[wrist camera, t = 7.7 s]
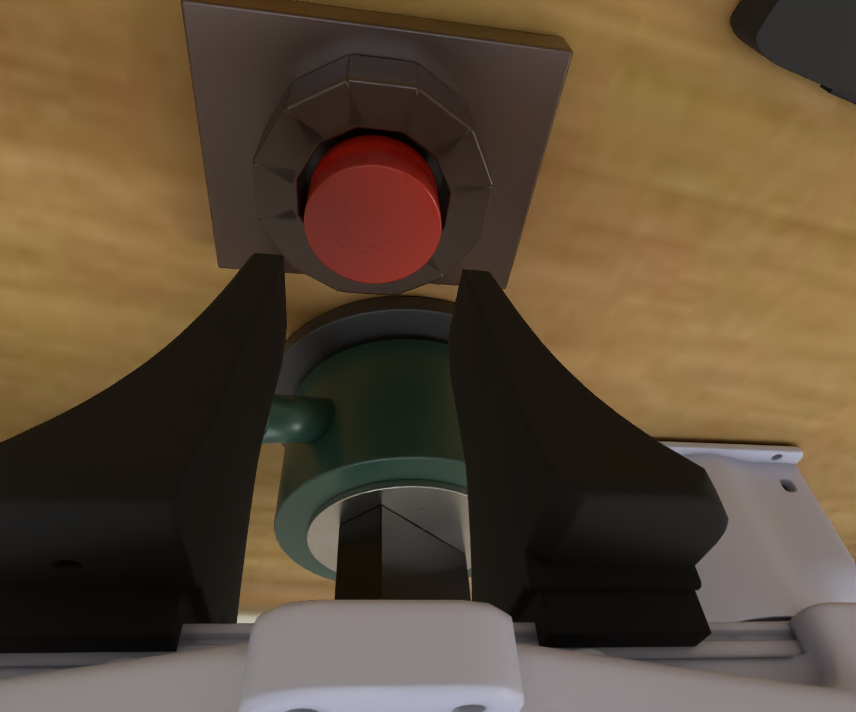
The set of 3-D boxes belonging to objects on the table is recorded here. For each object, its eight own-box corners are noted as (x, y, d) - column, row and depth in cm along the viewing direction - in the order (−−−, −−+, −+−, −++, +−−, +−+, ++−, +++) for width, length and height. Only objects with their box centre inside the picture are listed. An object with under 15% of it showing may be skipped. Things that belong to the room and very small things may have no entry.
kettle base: (425, 241, 21) (426, 254, 20) (578, 407, 28) (582, 420, 27) (208, 389, 25) (204, 403, 25) (386, 499, 32) (385, 512, 32)
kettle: (579, 451, 28) (638, 649, 22) (424, 521, 32) (435, 707, 26) (352, 234, 19) (336, 466, 13) (174, 369, 23) (91, 600, 16)
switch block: (564, 36, 16) (592, 74, 14) (501, 270, 22) (514, 322, 20) (190, -14, 15) (158, 19, 13) (224, 248, 20) (206, 302, 18)
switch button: (446, 141, 15) (452, 172, 14) (428, 254, 18) (432, 288, 17) (309, 126, 15) (302, 157, 14) (310, 244, 17) (304, 279, 16)
